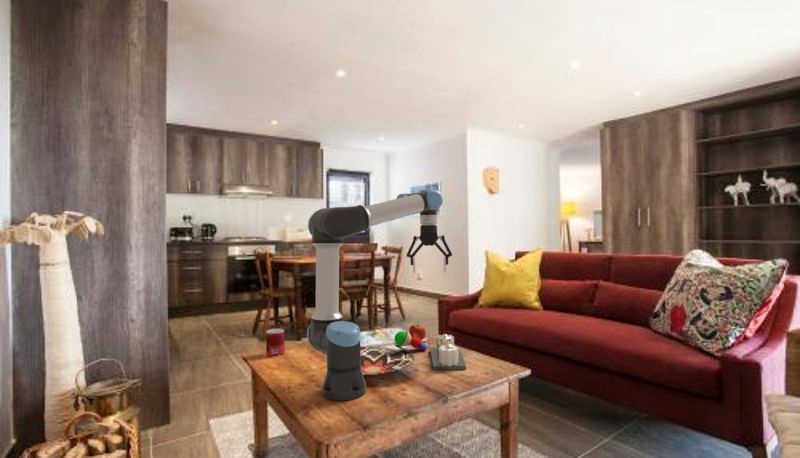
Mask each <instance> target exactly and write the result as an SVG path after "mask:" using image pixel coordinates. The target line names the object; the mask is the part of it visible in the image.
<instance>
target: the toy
mask: <svg viewBox="0 0 800 458" xmlns="http://www.w3.org/2000/svg"><path fill="white" fill-rule="evenodd" d="M393 344H394V346H395V348H398V349H400V350H401V351H403V352H406V353H407V352H408V350H407V349H405V348H404V347H406V346H408V345H410V346H411V347H413V349H414V348H415V349H418V350H422V351H427V348H428V346H427V345H426V344H425V343H423V342H422V341H421V339H419V338H417V337H411V335H410V333H409V331H404V330H402V331H400V330H399V331H398V332H396V333H395V335H394V343H393ZM403 346H404V347H403Z"/></svg>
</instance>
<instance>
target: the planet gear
mask: <svg viewBox="0 0 800 458" xmlns="http://www.w3.org/2000/svg"><path fill="white" fill-rule="evenodd" d="M458 347H459V346H456V345H455V346H451V349H446V346H440V348H439V363H441V365H448V366H452V365H458V363H459V350H458Z"/></svg>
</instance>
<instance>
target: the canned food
mask: <svg viewBox="0 0 800 458" xmlns="http://www.w3.org/2000/svg"><path fill="white" fill-rule="evenodd" d="M265 344H266V345H265V350H266V356H267V355H268V356H278V355H281V356H283V355H284V354H285V330H284V328H271V329H268V330H266V332H265ZM282 354H283V355H282ZM268 356H267V357H268ZM278 357H279V356H278Z"/></svg>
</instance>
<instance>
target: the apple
mask: <svg viewBox="0 0 800 458" xmlns="http://www.w3.org/2000/svg"><path fill="white" fill-rule="evenodd" d="M408 332H409V333H410V335H411V337H417V338H419V339H421V342H422V341H423V340H424V339H425V336H426V332H427V331H426V328H425V326H424V325H422V324H419V323H415V324H412V325H411V326H410V327H409V328H408Z"/></svg>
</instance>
